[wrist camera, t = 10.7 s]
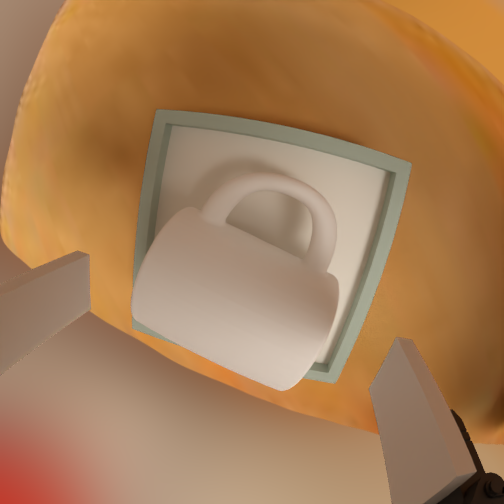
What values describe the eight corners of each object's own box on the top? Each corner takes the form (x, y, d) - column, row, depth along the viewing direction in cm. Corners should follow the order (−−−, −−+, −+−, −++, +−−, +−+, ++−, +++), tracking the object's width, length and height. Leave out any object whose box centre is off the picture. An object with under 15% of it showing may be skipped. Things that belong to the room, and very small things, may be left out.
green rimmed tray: (381, 166, 23) (412, 163, 16) (328, 339, 28) (335, 383, 21) (191, 124, 24) (156, 109, 17) (165, 296, 29) (132, 328, 22)
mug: (281, 344, 22) (272, 416, 14) (171, 290, 22) (119, 341, 15) (358, 210, 18) (397, 233, 11) (228, 148, 19) (185, 131, 11)
